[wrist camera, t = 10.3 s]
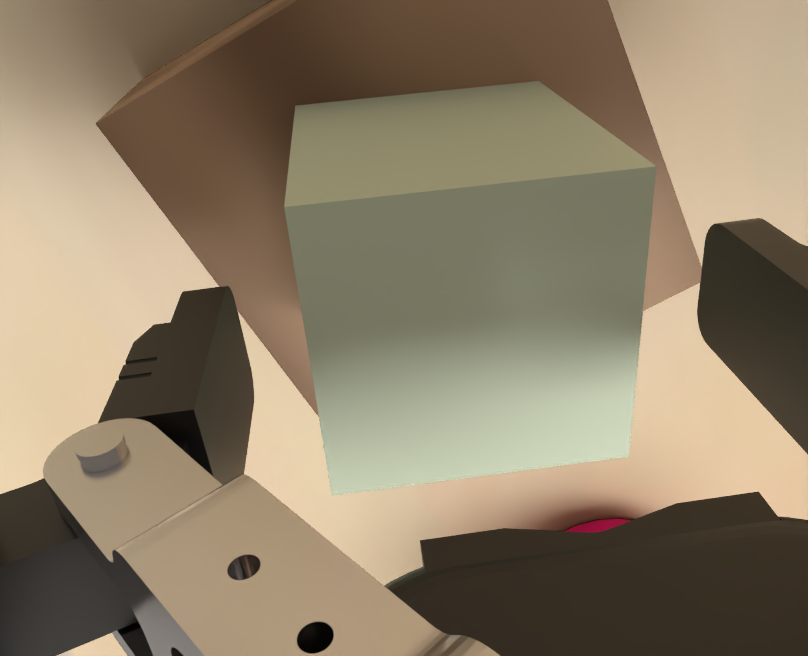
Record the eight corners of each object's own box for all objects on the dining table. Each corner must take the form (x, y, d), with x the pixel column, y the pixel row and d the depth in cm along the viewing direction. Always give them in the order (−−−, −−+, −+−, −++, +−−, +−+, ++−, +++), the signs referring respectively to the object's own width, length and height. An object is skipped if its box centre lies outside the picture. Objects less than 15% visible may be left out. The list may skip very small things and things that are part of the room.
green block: (538, 80, 15) (656, 165, 10) (535, 297, 18) (628, 456, 12) (295, 105, 15) (283, 207, 10) (327, 321, 17) (332, 495, 12)
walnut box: (492, -138, 17) (551, -157, 13) (628, 208, 22) (705, 279, 18) (145, 76, 19) (95, 123, 15) (342, 358, 24) (349, 457, 19)
